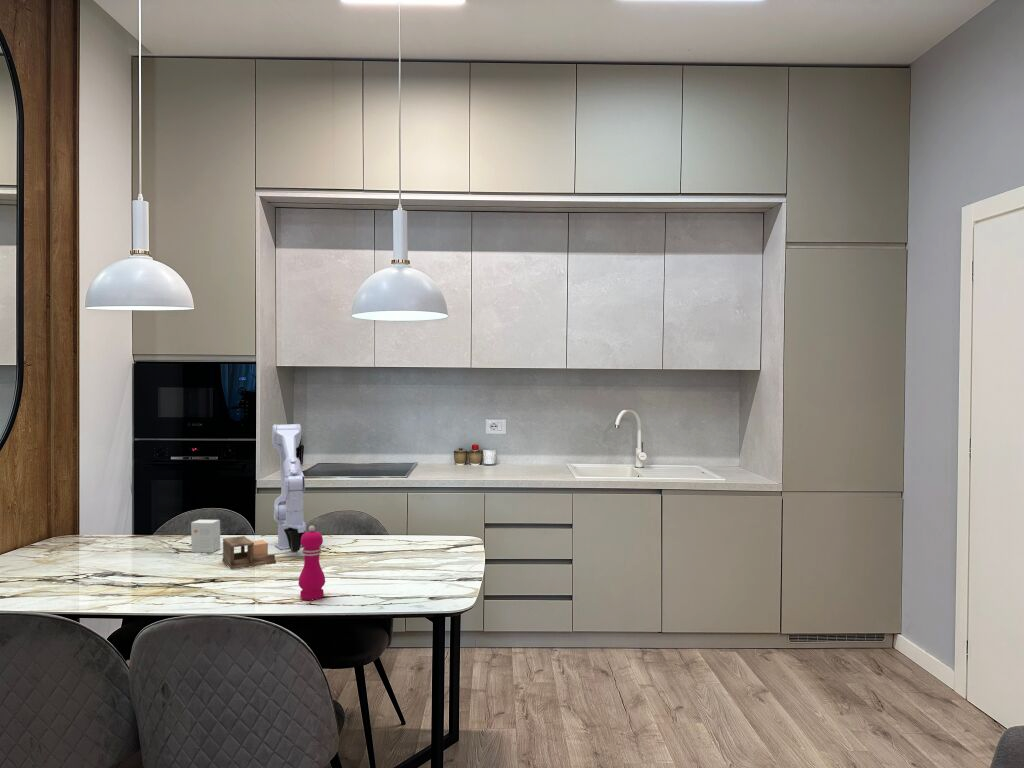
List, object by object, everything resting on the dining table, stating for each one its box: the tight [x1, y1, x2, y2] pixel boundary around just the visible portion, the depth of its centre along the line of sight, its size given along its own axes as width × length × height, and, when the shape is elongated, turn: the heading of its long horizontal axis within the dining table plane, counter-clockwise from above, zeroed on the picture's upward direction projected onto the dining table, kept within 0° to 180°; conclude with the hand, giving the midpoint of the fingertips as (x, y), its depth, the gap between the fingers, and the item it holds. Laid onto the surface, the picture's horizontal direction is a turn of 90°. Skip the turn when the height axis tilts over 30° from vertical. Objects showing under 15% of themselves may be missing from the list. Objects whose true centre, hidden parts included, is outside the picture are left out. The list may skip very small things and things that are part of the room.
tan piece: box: [246, 539, 299, 558], centre depth 252 cm, size 16×6×5 cm, turn 124°
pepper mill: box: [298, 525, 326, 601], centre depth 209 cm, size 7×7×20 cm
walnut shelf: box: [222, 535, 277, 570], centre depth 248 cm, size 14×12×8 cm
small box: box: [190, 519, 221, 553], centre depth 264 cm, size 8×6×10 cm
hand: (294, 550), depth 256 cm, fingers closed on tan piece, 2 cm apart
